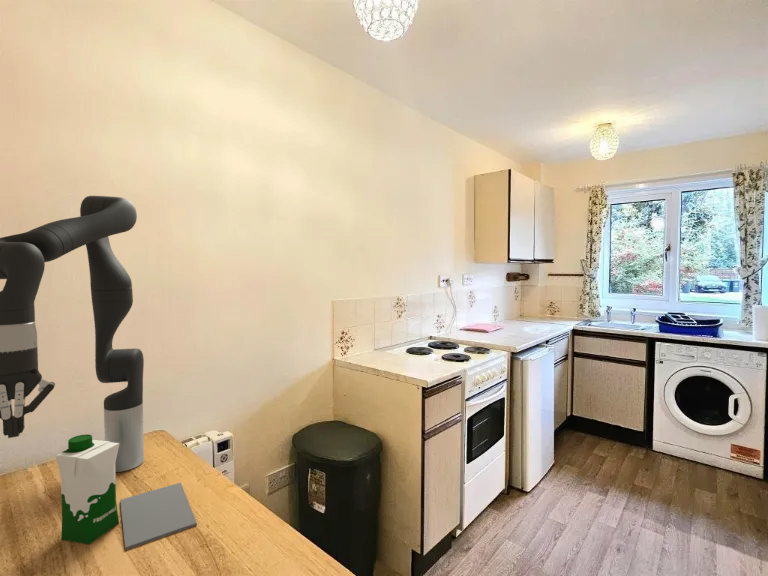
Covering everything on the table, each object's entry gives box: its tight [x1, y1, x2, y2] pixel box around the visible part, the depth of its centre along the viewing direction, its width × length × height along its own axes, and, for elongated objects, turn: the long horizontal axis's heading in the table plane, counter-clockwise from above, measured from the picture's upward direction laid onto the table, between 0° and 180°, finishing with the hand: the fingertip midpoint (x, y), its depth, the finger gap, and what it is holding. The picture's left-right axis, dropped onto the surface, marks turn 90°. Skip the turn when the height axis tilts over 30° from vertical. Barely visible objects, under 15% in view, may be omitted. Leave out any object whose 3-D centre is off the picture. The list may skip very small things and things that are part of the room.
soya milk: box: [55, 434, 120, 545], centre depth 82 cm, size 9×9×20 cm
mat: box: [119, 482, 198, 551], centre depth 89 cm, size 20×13×1 cm, turn 36°
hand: (14, 435), depth 75 cm, fingers closed
